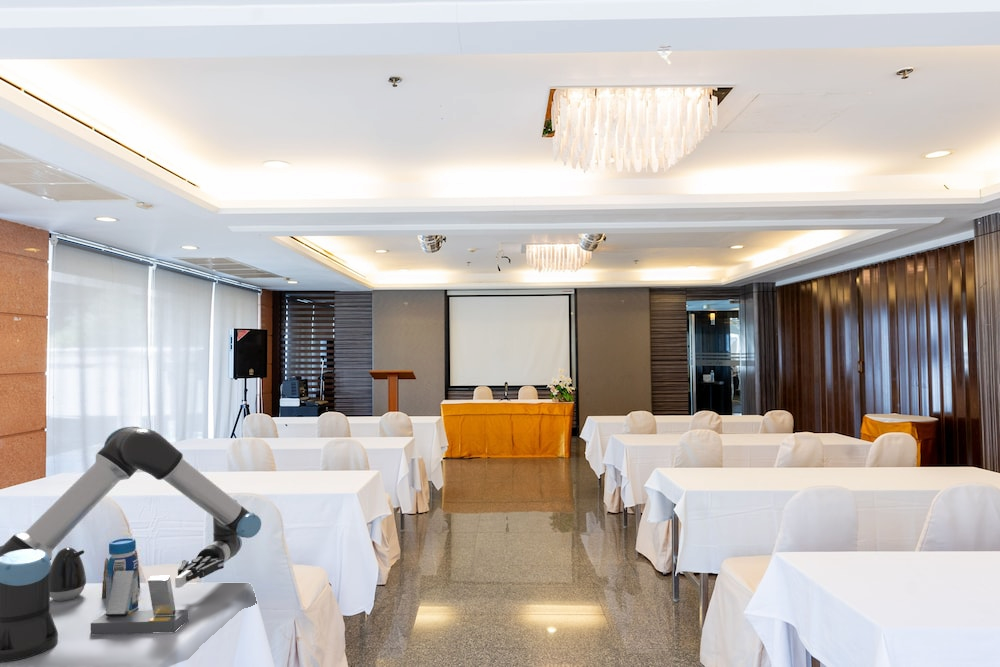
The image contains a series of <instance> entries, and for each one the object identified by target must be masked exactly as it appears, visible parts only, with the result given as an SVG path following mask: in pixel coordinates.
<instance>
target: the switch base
mask: <svg viewBox="0 0 1000 667" xmlns="http://www.w3.org/2000/svg"><path fill="white" fill-rule="evenodd" d="M187 620H188V621H189V609H187V608H186V609H175V615H163V616H154V614H153V609H152V610H149V609H148V610H147V609H146V610H134V611H133V610H129V611H128V614H127V616H106V612H105V613H104V614H102V615H100V616H99V617H98V618H96V619H95V620H93V621H92V622H90V635H91V636H93V635H92V634H100V635H129V634H130V635H131V634H132V635H134V634H135V633H139V634H154V633H153V632H175V631H176V630H177V629H178V628H179V627H180V626H181V625H183V624H184V623H185V622H186V621H187ZM188 621H187V622H188ZM187 622H186V623H187ZM186 623H185V624H186ZM185 624H184V625H185ZM184 625H183V626H184ZM180 628H181V627H180ZM180 628H179V629H180ZM179 629H178V630H179ZM178 630H177V631H178ZM177 631H176V632H177ZM176 632H175V633H176Z"/></svg>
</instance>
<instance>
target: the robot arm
mask: <svg viewBox="0 0 1000 667" xmlns="http://www.w3.org/2000/svg"><path fill="white" fill-rule="evenodd" d="M138 470H140V471H143V472H145V473H146V474H149V475H150V476H151V477H153V478H155V479H156V480H158V481H160V480H163V481H165V482H166V483H168V484H169V485H170V486H172V488H175V489H176V490H177V491H178V492H180V493H181V494H182V495H183V496H185V497H186V498H188V500H190V501H192V502H193V503H195V505H197V506H198V507H199V508H201V509H202V510H203V511H205V512H206V513H208V514H209V515H210V516H212V522H213V524H212V526H213V527H212V528H213V533H212V536H213V541H212V543H210V544H209V545H208V546H206V547H205V548H204V549H202V550H201V551H200V552H198V555H197V556H196V558H193V559H191V561H189V560H187V559H184V560H182V561H181V565H179V567H178V569H177V576H176V577H175V578H174V579H175V581H174V582H175V583H174V584H175V585H174V586H175V589H176V588H177V589H178V588H182V587H183V586H184V585H186V584H188V583H189V582H191V581H192V580H195V579H197V578H199V579H203V578H205V577H206V576H209V575H210V574H213V573H215V572H217V571H218V570H222V569H224V567H225V566H224V565H225V563H226V562H228V561H229V560H230V559H232V558H233V557H235V556H236V555H237V554H238V553H239V551H241V548H242V546H243V540H242V538H246V539H250V538H253V537H255V536H257V534H258V533H259V532H260V530H261V527H262V520H261V517H259V515H257V514H255V513H254V512H250V511H249V510H247V508H245V507H243V506H242V505H241V504H240V503H239V502H238V501H237V500H236V499H234V498H232V497H231V496H230V495H229V494H228V493H227V492H225V491H223V490H222V489H221V488H220V487H218V486H217V485H216V484H214V482H212V481H211V480H210V479H209V478H207V477H206V476H205V475H204V474H202V473H201V472H200V471H199V470H197V469H196V468H195V467H193V466H192V465H191V464H190V463H189V462H187V461H186V460H185V459H184V455H183V453H182V452H181V451H180V450H178V449H177V448H176V447H175V446H174V445H173V444H171V442H169V441H168V440H167V439H166V438H164V437H163V436H162V435H161V433H158V432H157V431H155V430H152V429H148V428H142V427H138V426H133V425H132V426H123V427H121V428H117V429H116V430H114V431H113V432H111V433H110V434H109V435H108V436H107V438H106V439H105V442H104V445H103V447H102V448H101V449H100V450H99V451H98V452H96V454H95V462H94V464H92V465H91V466H90V467H89V468H88V469H87V470H86V471H85V472H84V473H83V474H82V475H81V476H79V478H78V479H76V481H75V482H74V483H73V484H72V485H71V486H70V487H69V488H68V489H67V490H66V491H65V492H64V493H62V495H61V496H59V498H58V499H57V500H56V501H55V502H53V503H52V505H51V506H50V507H49V508H48V509H47V510H46V511H45V512H44V513H43V514H42V515H41V516H40V517H39V518H37V520H36V521H35V522H34V523H32V525H30V526H29V527H28V528H27V529H26V531H24V532H19V533H15V534H14V535H12V536H11V537H10V539H8V540H7V541H6V542H5V543H4V544H3V545H1V546H0V662H9V661H10V662H11V661H16V660H20V659H25V658H28V657H32V656H35V655H38V654H41V653H43V652H45V651H47V650H50V649H51V648H52V647H54V646H55V645H56V644H58V643H57V642H58V639H59V635H58V634H59V633H58V629H57V627H56V624H55V622H54V619H53V617H52V614H51V608H50V606H51V603H50V602H51V597H50V569H51V565H52V562H51V560H53V550H54V549H55V548H56V547H57V546H58V545H59V544H60V543H61V542H62V541H64V539H65V538H66V537H67V536H68V535H69V534H70V533H71V531H73V529H75V528H76V526H77V525H78V524H79V523H81V522H82V520H84V518H86V516H87V515H88V514H89V513H90V512H91V511H92V510H93V509H94V508H95V507H96V506H97V504H99V503H100V502H101V501H102V500H103V499H104V497H106V495H107V494H108V493H110V491H111V490H112V489H113V488H114V487H115V486H116V485H117V484H118V483H119V482H120V481H123V480H129V479H130V478H131V477H132V476H133V475H134V474H135V473H136V472H137V471H138Z"/></svg>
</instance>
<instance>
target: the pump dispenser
mask: <svg viewBox="0 0 1000 667" xmlns="http://www.w3.org/2000/svg"><path fill="white" fill-rule="evenodd" d="M84 554H85V550H83V549H82V550H79V551H77V550H76V549H75V548H74V547H65V548H62V549H61V550H59V551H58V552H57V553H56V555H55V557H54V558H53V559H52V562H51V569H50V599H52V600H54V601H57V602H65V601H71V600H73V599H75V598H77V597H78V596H79V595H81V594H82V592H83V591H84V589H85V587H86V586H85V585H86V584H87V575H86V571H85V566H84V563H83V561H82V558H81V555H84Z"/></svg>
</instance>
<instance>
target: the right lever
mask: <svg viewBox="0 0 1000 667" xmlns="http://www.w3.org/2000/svg"><path fill="white" fill-rule="evenodd" d="M147 585H148V589H149V590H148V591H149V596H150V597H149V598H150V602H151V607H152V610H153V614H154V616H163V615H175V610H176V606H175V605H176V604H175V598H174V594H173V588H172V580H171V575H151V576H150V577H149V578H148V579H147Z"/></svg>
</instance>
